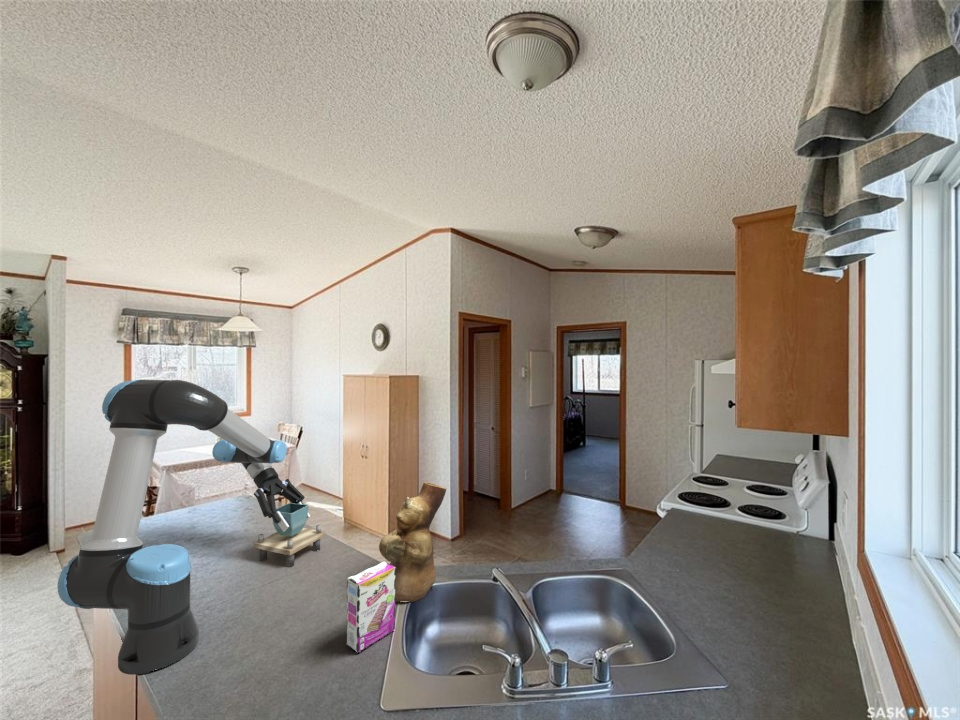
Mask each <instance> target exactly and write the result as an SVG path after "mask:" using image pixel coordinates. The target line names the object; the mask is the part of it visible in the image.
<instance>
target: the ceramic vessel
mask: <svg viewBox="0 0 960 720" xmlns="http://www.w3.org/2000/svg"><path fill="white" fill-rule="evenodd" d="M446 493H447V487H445V486H443V485H438V484H436V483H431V482H427V481H424V482H423V483H422V486H421V489H420V491H419V493H418V495H417V496H415V497H411V498H410V497H409V496H407V497H406V498H405V499H404V502H403V503H402V505H401V506H400V508H399V509H398V512H397V514H396V515H395V516H396V517H395V519H396V522H397V524H396V525H397V528H395V529H394V530H393V531H391V532H389V533H387V534H386V535H384V536H383V537H382V538H381V539H380V541H379V544H378V550H379V553H380V555H381V556H382V557H383V558H384V559H385V560H386V561H387V562H389V564H390V565H392V566H394V567H395V603H396V602H397V603H400V602H399V601H409V602H410V603H409V604H411V603H414V602H417V601H419V600H421V599H423V598H425V596H426V595H427V594H428V593H429V591H430V590H431V588H432V587H433V585H434V584H435V582H436V579H437V578H436V576H437V572H436V568H435V559H434V555H435V554H434V548H435V547H434V543H433V542H434V541H433V536H432V534H431V531H430V526H431V524H432V522H433V520H434V518H435V515H436V514H437V512H438V510H439V508H440V507H441V505H442V503H443V500H444V499H445V495H446Z"/></svg>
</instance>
